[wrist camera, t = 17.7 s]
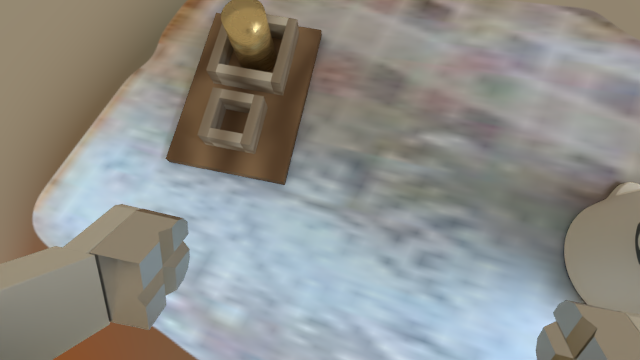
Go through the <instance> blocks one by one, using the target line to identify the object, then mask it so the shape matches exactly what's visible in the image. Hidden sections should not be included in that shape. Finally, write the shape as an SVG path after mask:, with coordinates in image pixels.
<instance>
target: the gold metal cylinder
mask: <svg viewBox="0 0 640 360" xmlns="http://www.w3.org/2000/svg"><path fill="white" fill-rule="evenodd" d="M221 21H222V24H223V26H224V28H225V31H226V33H227V35H228V38H229V40H230V42H231V45H232V47H233V49H234V52H235V54H236V56H237V59H238V61H239V63H240V66H241V67H242V68H247V69H252V70H258V71H264V72H268V71H269V70H271V69H272V68H273V66H274V65H275V63H276V58H277V56H276V52H275V48H274V44H273V40H272V36H271V33H270V29H269V25H268V21H267V17H266V13H265V10H264V7H263V5H262V4H261V3H260V2H259V1H258V0H232V1H230V2H229V3H228V4H227V5H226V6H225V7H224V8H223V10H222V13H221Z"/></svg>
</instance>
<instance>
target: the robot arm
mask: <svg viewBox="0 0 640 360" xmlns="http://www.w3.org/2000/svg"><path fill="white" fill-rule="evenodd" d="M187 235H188V224H187V221H186V220H185V219H183V218H180V217H175V216H171V215H167V214H163V213H159V212H154V211H150V210H146V209H140V208H136V207H132V206H128V205H123V204H120V205H115V206H114V207H112V208H111V209H110V210H109V211H107V212H106V213H105V214H104V215H102V216H101V217H100V218H99V219H97V220H96V221H95V222H94V223H93V224H91V225H90V226H89V227H88V228H86V229H85V230H84V231H83V232H81V233H80V234H79V235H78V236H76V237H75V238H74V239H73V240H72V241H70V242H69V243H68V244H67V245H65V246H64V247H63V248H61V247H57V246H55V247H52V248H48V249H45V250H42V251H40V252H36V253H33V254H30V255H27V256H24V257H21V258H18V259H15V260H12V261H9V262H6V263H3V264H0V360H52V359H54V358H56V357H57V356H59V355H61V354H62V353H64V352H65V351H67V350H69V349H70V348H72V347H74V346H75V345H77V344H78V343H80V342H82V341H83V340H85V339H86V338H88V337H90V336H91V335H93V334H95V333H96V332H98V331H99V330H101V329H103V328H104V327H106V326H107V325H109V324H110V322H113V323H118V324H123V325H128V326H132V327H137V328H142V329H147V330H149V329H150V328H151V326H152V325H153V324H154V322H155V321H156V319H157V318H158V316H159V315H160V314H161V312H162V311H163V309H164V308H165V306H166V295H167V294H169V293H171V292H173V291H175V290H177V289H178V287H179V286H180V284H181V283H182V281H183V280H184V277H185V274H186V272H187V269H188V265H189V259H190V254H189V248H188V247H187V246H186V244H185V243H184V242H183V240H184V239H185V238H186V236H187ZM564 257H565V264H566V268H567V271H568V274H569V277H570V279H571V281H572V283H573V285H574V287H575V289H576V290H577V292H578V293H579V295H580V296H581V297H582V299H583V300H584V301H585V302H586V303H587V304H588V305H587V304H582V303H578V302H573V301H568V300H565V301H563V302H562V303H560V304H559V305H558V306H557V308H556V309H555V311H554V312H553V314H554V317H555V320H556V322H554V323H552V324H550V325H547V326H545V327H544V328H543V329H542V331H541V333H540V335H539V336H538V338H537V346H536V356H537V360H640V184H637V183H634V182H628V183H623V184H620V185H618V186H617V187H616V188H615V189H614V190H613V191H612V193H611V194H610V195H609V196H608V198H606V199H605V200H603V201H601V202H598V203H596V204H593V205H591V206H589V207H587V208H586V209H584V210H583V211H582V212H581V213H579V214H578V215H577V217H576V218H575V219H574V220H573V222H572V223H571V225H570V227H569V229H568V232H567V235H566V239H565V245H564Z"/></svg>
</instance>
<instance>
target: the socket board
mask: <svg viewBox="0 0 640 360" xmlns="http://www.w3.org/2000/svg"><path fill="white" fill-rule="evenodd" d="M266 17H267V21H268V25H269V29H270V33H271V36H272V40H273V44H274V48H275V52H276V56H277V58H276V63H275V65H274V66H273V68H272V69H271V70H269V71H268V72H264V71H258V70H252V69H247V68H242V67H241V66H240V63H239V61H238V59H237V56H236V54H235V52H234V49H233V47H232V45H231V42H230V40H229V38H228V35H227V33H226V31H225V28H224V26H223V24H222V21H221V14H220V13H216V15H215V18H214V21H213V24H212V27H211V30H210V32H209V35H208V38H207V41H206V44H205V47H204V50H203V53H202V56H201V58H200V61H199V64H198V67H197V70H196V73H195V76H194V79H193V82H192V85H191V87H190V90H189V93H188V96H187V99H186V102H185V105H184V108H183V111H182V114H181V116H180V119H179V122H178V125H177V128H176V131H175V134H174V137H173V140H172V142H171V145H170V148H169V151H168V154H167V157H166V159H167V160H168V161H169V162H173V163H178V164H183V165H188V166H193V167H198V168H203V169H208V170H213V171H218V172H223V173H228V174H233V175H238V176H243V177H248V178H253V179H258V180H263V181H268V182H273V183H278V184H283V185H285V182H286V178H287V173H288V169H289V165H290V161H291V157H292V153H293V149H294V145H295V141H296V137H297V133H298V129H299V125H300V121H301V117H302V113H303V109H304V105H305V101H306V97H307V93H308V88H309V84H310V80H311V76H312V72H313V68H314V64H315V60H316V56H317V52H318V48H319V44H320V40H321V30H317V29H311V28H305V27H299V26H298V20H297V19H291V18H285V17H279V16H273V15H267V14H266Z"/></svg>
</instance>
